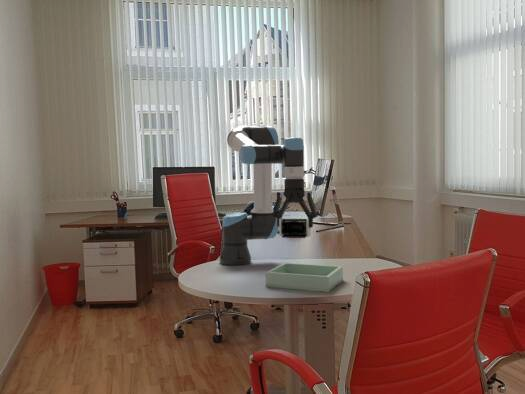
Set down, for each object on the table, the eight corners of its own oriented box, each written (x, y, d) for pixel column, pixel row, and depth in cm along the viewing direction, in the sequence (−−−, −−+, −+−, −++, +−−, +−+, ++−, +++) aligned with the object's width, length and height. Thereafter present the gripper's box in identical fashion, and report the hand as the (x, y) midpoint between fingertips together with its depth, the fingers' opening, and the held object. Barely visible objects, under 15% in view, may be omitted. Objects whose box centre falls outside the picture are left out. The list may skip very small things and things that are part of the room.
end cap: (309, 235, 197) (309, 218, 197) (306, 238, 190) (306, 220, 190) (284, 235, 200) (284, 218, 199) (280, 237, 193) (280, 219, 193)
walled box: (265, 286, 190) (265, 272, 190) (284, 275, 209) (284, 262, 209) (328, 292, 181) (328, 276, 181) (342, 280, 200) (342, 266, 199)
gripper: (262, 178, 195) (263, 235, 196) (319, 178, 186) (320, 237, 187) (270, 178, 202) (271, 233, 203) (325, 177, 193) (326, 235, 194)
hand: (295, 235), depth 195 cm, fingers closed on end cap, 10 cm apart
